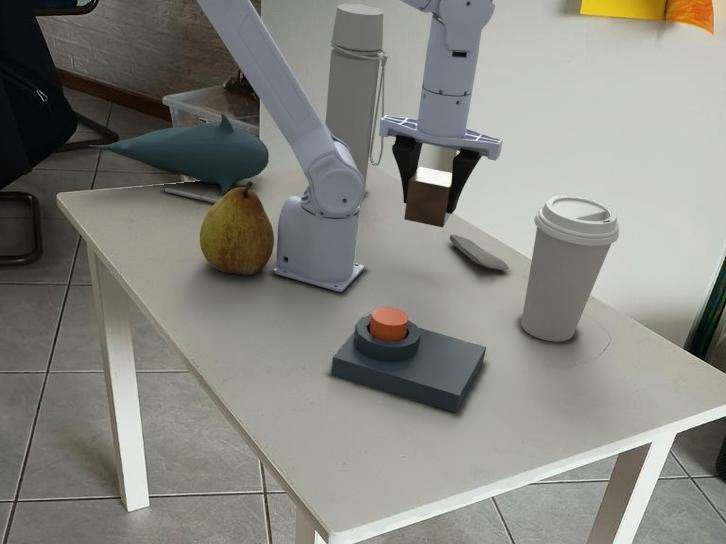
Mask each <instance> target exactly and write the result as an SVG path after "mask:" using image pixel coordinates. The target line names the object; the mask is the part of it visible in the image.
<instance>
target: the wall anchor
mask: <svg viewBox="0 0 726 544" xmlns="http://www.w3.org/2000/svg"><path fill="white" fill-rule="evenodd" d="M164 191H165V193H169V194H174V195H177V196H183V197H187V198H191V199H195V200H199V201H200V202H202V201H206V202H211V203H214V204H215V203H216V202H218V201H219V200H220V199H221V198H222V197H221V198H220V197H219V198H218V199H217V198H211V197H208V196H203V194H195V193H191V192H186V191H182V190H179V189H173V188H167V187H166V188H165V190H164Z"/></svg>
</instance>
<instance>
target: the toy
mask: <svg viewBox="0 0 726 544" xmlns="http://www.w3.org/2000/svg"><path fill="white" fill-rule="evenodd" d="M220 117H221V121H220V122H202V123H199V124H196V125H193V126H187V127H186V126H183V127H169V128H163V129H156V130H154V131H150V132H147V133H145V134H142V135H139V136H136V137H132V138H128V139H127V138H126V139H123V140H120V141H117V142H113V143H110V144H100V145H92V144H90V145H87V147H90V148H98V150H101V151H109V152H112V153H114V154H117V155H119V156H122V157H125V158H129V159H131V160H135V161H137V162H140V163H143V164H145V165H146V166H150V167H152V168H155V169H157V170H161V171H163V172H167V173H172V174H177V175H183V176H188V177H190V178H192V179H195V180H197V181H200V182H203V183H205V184H211V185H220V187H221V191H220V195H225V194H226V193H228V192H229V189H230V188H231V187H232V185H233V183H237V182H240V181H242V180H247V179H251V178H254V177H257V176H258V175H259V174H261V173H262V172H263V171H264V170H265V169H266V168H267V167H268V164H269V160H270V159H269V154H270V153H269V149H268V148H267V147H268V146H267V145H266V144H265V143H264V142H263V140H261V139H260V138H259V136H257V135H255V134H253V133H251V132H248V131H245V130H242V129H240V128H238V127H235V126H233V125H232V123H231V121H230V120H229V118H228V117H227V116H226V115H225V114H223V113H220Z"/></svg>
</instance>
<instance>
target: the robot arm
mask: <svg viewBox="0 0 726 544" xmlns="http://www.w3.org/2000/svg"><path fill="white" fill-rule="evenodd" d="M399 1H401V2H402V3H404V4H406V5H408V6H410V7H412V8H414V9H416V10H418V11H419V12H422V13H424V14H427V13H430V14H431V21H430V29H429V38H428V41H427V45H426V46H427V47H426V54H425V62H424V69H423V77H422V85H421V92H420V100H419V108H418V116H417V118H412V117H411V118H410V117H401V116H394V115H389V114H386V115H384V117H383V118H382V117H381V118H380V120H379V131H378V136H379V137H381V136H383V137H384V138H389V137H392V138H395V140H394V143H393V144H392V145H391V153H392V155H393V158H394V160H395V162H396V165H397V168H398V172H399V175H400V180H401V187H402V196H403V197H402V198H403V199H402V200H403V204H406V201H407V193H408V185H409V179H410V178H411V177H412V175H413V174H414V173H415V171H416V170H417V169H418V168H419V162H420V156H421V153H422V148H423V144H424V145H429V146H434V147H439V148H444V149H448V150H452V151H457V152H458V153H457V154H455V156H454V157H453V159H452V168H451V169H452V171H451V173H452V181H451V189H450V194H449V202H448V210H447V213H449V214H451V215H453V213H455V211H456V209H457V206H458V202H459V200H460V197H461V195H462V192H463V190H464V187H466V183H467V182H468V180H469V178H470V176H471V174H472V173H473V172H474V170H475V168H476V166H477V165H478V163H479V161H480V160H481V158H482V157H486V158H487V159H488V160H490V161H494V162H496V161H497V160H498V159H499V158H500V156H501V151H502V146H503V142H504V140H503V139H502V138H498V137H496V136H491V135H489V134H484V133H482V132H478V131H476V130H473V129H470V128H468V127H467V126H468V120H469V119H468V118H469V113H470V107H471V101H472V96H473V95H472V94H473V89H474V84H475V77H476V71H477V65H478V58H479V52H480V43H481V38H482V31H483V29H484V28H485V27H486V26H487V24H488V23H489V22H490V20H491V18H492V16H493V15H494V12H495V9H496V4H495V3H494V1H493V0H399ZM196 2H197V4H198V5H199V7H200V8H201V11H203V13H204V15H205V16H206V18H207V19H208V21H209V22H210V23H211V25H212V27H213V29H214V30H215V32H216V33H217V35H218V37H219V38H220V39H221V41H222V43H223V44H224V46H225V47H226V49H227V50H228V52H229V53H230V55H231V56H232V58H233V60H234V61H235V63H236V64H237V66H238V67H239V69H240V71H241V72H242V73H243V75H244V77H245V78H246V80H247V82H248V83H249V85H250V86H251V88H252V90H253V91H254V92H255V94H256V96H257V97H258V98H259V100H260V101H261V103H262V104H263V105H264V108H265V109H266V111H267V112H268V114H269V115H270V117H271V119H272V120H273V122H274V123H275V125H276V126H277V128H278V129H279V132H280V133H281V134H282V135H283V137H284V139H285V141H286V142H287V143H288V145H289V146H290V148H291V150H292V152H293V154H294V156H295V158H296V159H297V162H298V164H299V166H300V167H301V169H302V172H303V174H304V176H305V178H306V179H307V183H308V186H307V187H306V188H305V189H304V191H303V194H302V195H301V196H299V195H290V196H288V197H287V198H286V200H285V201H284V203H283V205H282V207H281V209H280V212H279V217H278V223H277V239H276V240H277V242H276V263H275V265H276V266H275V268H273V274H275V275H279V276H282V277H284V278H290V279H293V280H296V281H299V282H303V283H306V284H310V285H315V286H317V287H320V288H324V289H328V290H331V291H335V292H338V293H341V292H343V291H345V289H347V288H348V286H350V285H351V283H352V282H353V281H354V280H355V279H356V278H357V277H358V276H359V275H360V274H361V273H362V272H363V271H364V269H365V266H364V265H363V264H359V263H357V262H355V258H356V257H355V256H356V247H357V238H358V231H359V230H358V229H359V221H360V220H359V219H360V209H361V204H362V202H363V200H364V198H365V195H366V187H365V182H364V179H363V176H362V175H361V173H360V172H359V170H358V169H357V167H356V164H355V162H354V159H353V156H352V152H351V150H350V149H349V147H348V146H347V145H346V144H345V143H344V142H343V141H341V140H340V139H338V138H336V137H335V136H334V135H333V134H332V133H331V132H330V131H329V129H328V127H327V126H326V124H325V123H326V122H325V121H324V119H322V117H321V116H320V114H319V113H318V111H317V109H316V108H315V106H314V104H313V103H312V101H311V99H310V98H309V96H308V94H307V93H306V91H305V89H304V88H303V86H302V84H301V83H300V81H299V79H298V78H297V76H296V74H295V73H294V72H293V70H292V67H290V64H289V62H288V61H287V59H286V57H285V56H284V54H283V52H282V51H281V49H280V48H279V46H278V45H277V43H276V41H275V40H274V38H273V36H272V35H271V33H270V31H269V29H268V28H267V26H266V25H265V23H264V21H263V20H262V18H261V16H260V15H259V12H258V11H257V9H256V8H255V6H254V4H253V2H252V1H251V0H196Z"/></svg>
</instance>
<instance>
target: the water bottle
mask: <svg viewBox="0 0 726 544" xmlns="http://www.w3.org/2000/svg"><path fill="white" fill-rule="evenodd" d="M383 35H384V10H382V9H380V8H379V7H374V6H370V5H366V4H358V3H341V4H338V5H337V8H336V12H335V19H334V24H333V30H332V36H331V39H330V47H332V48H331V51H330V61H329V73H328V88H327V98H326V113H325V114H326V115H325V122H324V123H325V124H326V126H327V127H328V129H329V131H330V132H331V133H332V134H333V135H334V136H335V137H336V138H338V139H340V140H341V141H343V142H344V143H345V144H346V145H347V146H348V147H349V149H350V150H351V152H352V156H353V159H354V162H355V164H356V167H357V169H358V170H359V172H360V173H361V175H362V176H363V179H364V182H365V188H366V187H367V179H368V169H369V161H370V163H371V165H372V166H375V167H376V166H377V167H378V166H379V165H380V163H381V160H382V157H383V152H384V141H385V140H384V138H385V137H383V136H380V152H379V157H378V161H377V162H375V161H374V159H373V150H374V149H373V148H374V143H375V134H376V128H377V119H378V113H379V106H380V99H381V119H382V118H383V117H384V116H385V72H386V71H385V68H386V65H387V61H388V58H389V54H388V53H387V51H386V50H384V49H383V40H384V38H383V37H384V36H383ZM381 53H382V56H381V55H380V54H381ZM380 62H381V64H380ZM380 66H381V73H380V79H379V71H380ZM378 80H379V88H378ZM377 88H378V94H377ZM381 93H382V94H381ZM376 97H377V99H376ZM376 100H377V101H376ZM375 107H376V108H375Z"/></svg>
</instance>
